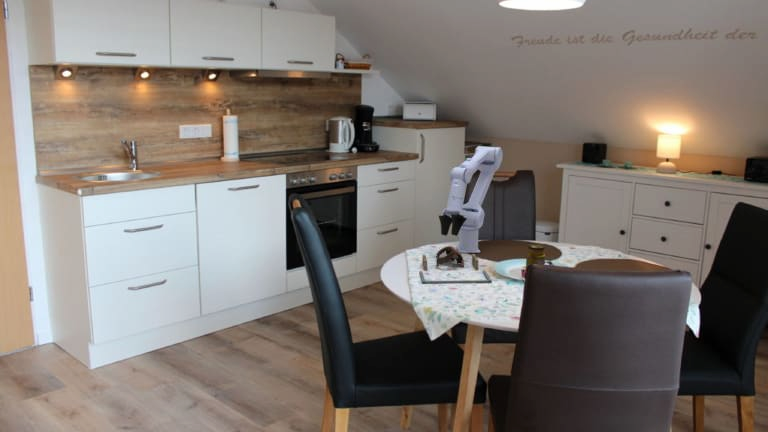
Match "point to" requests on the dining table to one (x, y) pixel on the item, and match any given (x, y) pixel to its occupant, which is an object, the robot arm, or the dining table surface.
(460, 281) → the frame
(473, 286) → the dining table surface
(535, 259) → the condiment
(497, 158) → the robot arm
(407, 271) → the dining table surface
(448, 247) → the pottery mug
